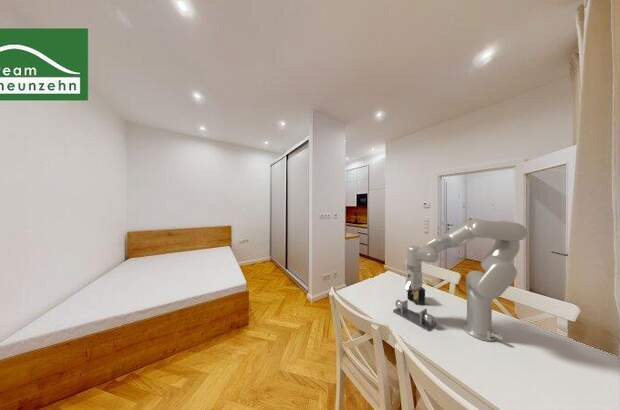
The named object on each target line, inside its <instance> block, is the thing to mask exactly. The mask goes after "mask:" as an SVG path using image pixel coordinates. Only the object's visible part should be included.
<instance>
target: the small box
mask: <svg viewBox="0 0 620 410" xmlns="http://www.w3.org/2000/svg"><path fill="white" fill-rule="evenodd" d="M419 289H420V290H419V298H418V302H413V303H414V304H415V305H419V306H425V305H426V289H425V288H424V287H423V286H421V287H420V288H419Z"/></svg>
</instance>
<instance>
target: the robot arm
mask: <svg viewBox="0 0 620 410" xmlns="http://www.w3.org/2000/svg"><path fill="white" fill-rule="evenodd" d="M526 237H528V230H527V228H526V227H525V226H524V225H523V224H520V223H518V222H513V221H507V220H497V221H492V220H483V219H478V218H471V219H468V220H466V221H465V222H463V223H461V224H460V225H458V226H457V227H456V228H453V229H452V230H450V231H448V232H447V233H444V234H442V235H441V236H439V237H436V238H434V239H432V240H431V241H429V242H427V243H426V244H424V245H423V246H422V247H420V246H418V245H409V246H407V248H406V275H405V276H406V277H405V290H406V293H407V300H408V299H409V301H410V300H411V301H410V302H412V301H414V294H413V290H416V289H418V298H419V290H420V289H419V288H420V287H423V274H422V273H423V272H422V265H423V264H422V261H423V262H426V263H432V264H433V263H436V262H438V261H439V259H440V255H439V253H440V252H442V251H444V250H447V249H452V248H454V249H455V248H459V247H462V246H464V245H466V244H467V243H469V242H471V241H472V240H474V239H476V238H482V239H486V240H487V239H488V240H495V241H494V244H493V245H492V247H491V249H490V250H489V252H487V254H486V255H485V256H484V257H483V259H482V260H481V262H480V266H481V268H482V270H484V271H485V272H482V271H479V270H472V271H471V270H470V272H468V273H467V275H466V276H465V284H466V322H465V323H463V324H462V329H463V331H464V332H466V333H467V334H468V335H470V336H472V337H473V338H475V339H478V340H481V341H486V342H494V341H496V339H498V340H499V341H501V342H504V336H503V335H502V333H500V332H497V331H495V330H494V327H493V326H492V323H493V322H492V319H493V318H492V316H493V315H492V314H493V313H492V312H493V311H492V310H493V300H495V299H498V298H500V296H502V295H503V293H505V291H506V290H507V289H508V288H509V287H510V285H512V283H514V282H515V280H516V278H517V275H518V271H517V268H516V266H515V264H513V263H512V262H513V261H514V260H515V258H516V256H517V255H518V253H519V252H520V247H521V245H520V241H522V240H524V239H526ZM410 289H412V290H410Z"/></svg>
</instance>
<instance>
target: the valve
mask: <svg viewBox="0 0 620 410" xmlns="http://www.w3.org/2000/svg"><path fill="white" fill-rule="evenodd" d="M410 290H412V289H410ZM413 294H414V301H411V300H409V299H408V298H407V300H409V302H413V303H414V302H418V289H416V290H413Z"/></svg>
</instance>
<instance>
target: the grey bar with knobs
mask: <svg viewBox="0 0 620 410" xmlns="http://www.w3.org/2000/svg"><path fill="white" fill-rule="evenodd" d="M408 302H409V301H408V299H406V300H400V299H397V300H395V307H396V308H394V309H393V310H392V313H393V314H395V315H397V316H400V317H402V318H403V319H405V320H407V321H409V322H411V323H413V324H415V325H416V326H418V327H420V328H421V329H424V330H426V331H427V332H429V331H430V330H431V329H433V328H434V327H435V326H437V322H436V321H435V316H434V315H432V314H430V313H428V309H427V308H423V310H421V311H419V313H417V312H415V311H413V310H411V309H410V308H409V306H408V304H409V303H408Z"/></svg>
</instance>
